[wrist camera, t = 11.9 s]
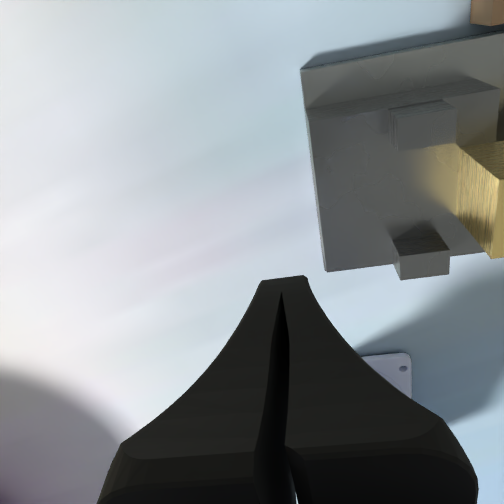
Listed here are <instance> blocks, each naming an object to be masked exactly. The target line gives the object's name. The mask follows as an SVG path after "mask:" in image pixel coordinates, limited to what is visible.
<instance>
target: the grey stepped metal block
mask: <svg viewBox="0 0 504 504" xmlns="http://www.w3.org/2000/svg"><path fill="white" fill-rule="evenodd" d="M300 76H301V84H302V92H303V100H304V109H305V117H306V125H307V133H308V141H309V149H310V157H311V165H312V174H313V182H314V190H315V198H316V206H317V214H318V222H319V230H320V239H321V247H322V255H323V263H324V268H325V271H327V272H334V271H342V270H350V269H357V268H365V267H373V266H381V265H388V264H393V265H394V267H395V269H396V272H397V274H398V276H399V278H400V280H407V279H415V278H423V277H431V276H439V275H447V274H449V265H450V256H458V255H466V254H474V253H481V252H485V251H484V249H483V248H482V247H481V246H480V245H479V243H478V242H477V241H476V240H475V239H474V237H473V236H472V235H471V234H470V233H469V231H468V230H467V229H466V228H465V226H464V225H463V224H462V223H461V222H460V220H459V219H458V218H457V217H456V205H457V186H458V167H459V148H461V147H467V146H473V145H479V144H486V143H492V142H498V141H504V30H502V31H497V32H491V33H486V34H481V35H476V36H471V37H466V38H460V39H455V40H450V41H445V42H440V43H434V44H429V45H424V46H419V47H414V48H409V49H403V50H398V51H393V52H388V53H383V54H377V55H372V56H367V57H362V58H357V59H352V60H346V61H341V62H336V63H331V64H326V65H321V66H315V67H310V68H305V69H300Z"/></svg>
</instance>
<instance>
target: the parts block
mask: <svg viewBox="0 0 504 504" xmlns="http://www.w3.org/2000/svg"><path fill="white" fill-rule="evenodd" d="M470 23H472V24H479V25H487V26H494V25H499V24H504V0H471V14H470Z"/></svg>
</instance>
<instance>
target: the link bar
mask: <svg viewBox="0 0 504 504" xmlns="http://www.w3.org/2000/svg"><path fill="white" fill-rule="evenodd" d="M456 217H457V218H458V219H459V220H460V222H461V223H462V224H463V225H464V226H465V228H466V229H467V230H468V231H469V233H470V234H471V235H472V236H473V237H474V239H475V240H476V241H477V242H478V243H479V245H480V246H481V247H482V248H483V249H484V251H485V252H486V253H487V254H488V256H489V257H490V258H491V259H494V258H502V257H504V141H498V142H492V143H486V144H479V145H473V146H467V147H461V148H459V167H458V186H457V205H456Z"/></svg>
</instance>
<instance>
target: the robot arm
mask: <svg viewBox="0 0 504 504" xmlns="http://www.w3.org/2000/svg"><path fill="white" fill-rule="evenodd" d="M401 366H404V367H401ZM478 490H479V488H478V479H477V476H476V474H475V471H474V469H473V466H472V465H471V463H470V461H469V459H468V457H467V455H466V453H465V452H464V450H463V448H462V447H461V445H460V443H459V442H458V440H457V439H456V437H455V436H454V434H453V433H452V431H451V430H450V428H449V427H448V426H447V424H446V423H445V421H444V420H443V419H442V418H441V417H439V416H437V415H436V414H434V413H433V412H431V411H429V410H428V409H426V408H425V407H423V406H421V405H420V404H418V403H417V402H415V401H414V400H412V374H411V358H410V356H409V355H408V354H406V353H395V354H385V355H375V356H365V357H360V356H359V355H358V354H357V353H356V352H355V351H354V350H353V349H352V347H351V346H350V345H349V344H348V343H347V342H346V341H345V340H344V338H343V337H342V336H341V335H340V334H339V332H338V331H337V330H336V328H335V327H334V326H333V325H332V323H331V322H330V320H329V319H328V318H327V316H326V315H325V313H324V311H323V310H322V308H321V307H320V305H319V304H318V302H317V300H316V298H315V296H314V295H313V293H312V290H311V288H310V286H309V283H308V278H307V277H305V276H304V275H300V276H293V277H285V278H277V279H269V280H262V281H261V282H260V284H259V286H258V288H257V290H256V293H255V295H254V297H253V299H252V301H251V303H250V305H249V307H248V309H247V311H246V312H245V314H244V316H243V318H242V320H241V321H240V323H239V325H238V327H237V328H236V330H235V331H234V333H233V334H232V336H231V337H230V339H229V340H228V342H227V343H226V345H225V346H224V348H223V349H222V351H221V352H220V353H219V355H218V356H217V357H216V359H215V360H214V361H213V362H212V363H211V365H210V366H209V367H208V368H207V370H206V371H205V372H204V373H203V374H202V375H201V376H200V377H199V378H198V380H197V381H196V382H195V383H194V384H193V385H192V386H191V387H190V388H189V389H188V390H187V391H186V392H185V393H184V394H183V395H182V396H181V397H180V398H179V399H177V400H176V401H175V402H174V403H173V404H172V405H171V406H170V407H168V408H167V409H166V410H165V411H164V412H163V413H161V414H160V415H159V416H158V417H156V418H155V419H154V420H153V421H151V422H150V423H149V424H147V425H146V426H145V427H143V428H142V429H141V430H139V431H138V432H136V433H135V434H134V435H132V436H131V437H130V438H128V439H127V440H125V441H124V442H122V443H121V444H120V447H119V449H118V451H117V453H116V455H115V457H114V459H113V461H112V464H111V466H110V469H109V471H108V474H107V476H106V479H105V482H104V485H103V488H102V491H101V493H100V496H99V499H98V502H97V504H296V495H297V499H298V504H477V498H478Z"/></svg>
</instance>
